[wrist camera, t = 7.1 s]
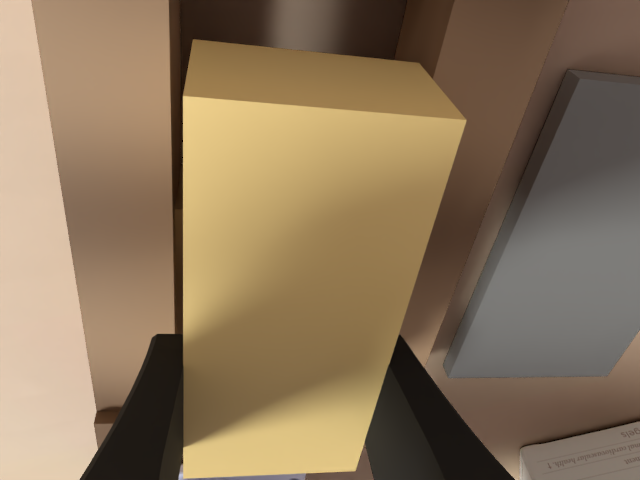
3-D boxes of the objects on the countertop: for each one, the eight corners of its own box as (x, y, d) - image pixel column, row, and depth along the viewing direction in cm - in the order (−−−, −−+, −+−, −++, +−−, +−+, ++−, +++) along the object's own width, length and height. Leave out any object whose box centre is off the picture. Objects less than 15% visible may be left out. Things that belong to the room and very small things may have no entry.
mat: (598, 363, 21) (606, 376, 21) (442, 364, 20) (447, 378, 19) (782, 92, 15) (800, 101, 14) (567, 69, 13) (579, 78, 13)
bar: (338, 387, 15) (355, 471, 13) (189, 389, 14) (183, 478, 12) (419, 62, 10) (466, 120, 8) (192, 39, 9) (182, 95, 7)
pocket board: (380, 370, 20) (400, 446, 17) (116, 373, 18) (99, 457, 16) (544, -139, 11) (633, -125, 8) (46, -230, 9) (-19, -246, 7)
